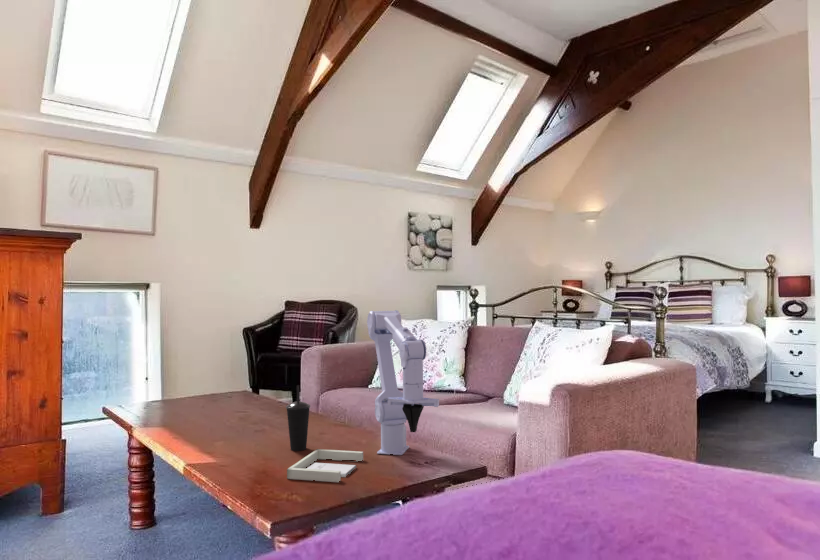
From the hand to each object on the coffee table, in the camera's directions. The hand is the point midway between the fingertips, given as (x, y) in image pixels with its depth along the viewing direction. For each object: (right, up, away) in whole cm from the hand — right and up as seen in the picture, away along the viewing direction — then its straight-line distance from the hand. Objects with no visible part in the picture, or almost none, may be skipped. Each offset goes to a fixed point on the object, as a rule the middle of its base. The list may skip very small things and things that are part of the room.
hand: (413, 431), depth 168 cm
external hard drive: (-23, -11, -3) cm, 26 cm away
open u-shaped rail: (-24, -10, -2) cm, 26 cm away
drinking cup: (-36, -11, +20) cm, 43 cm away
